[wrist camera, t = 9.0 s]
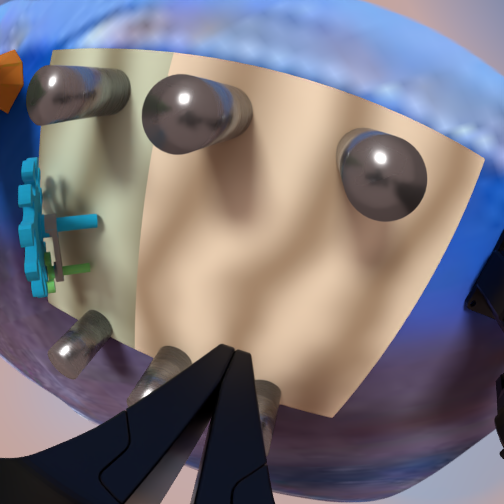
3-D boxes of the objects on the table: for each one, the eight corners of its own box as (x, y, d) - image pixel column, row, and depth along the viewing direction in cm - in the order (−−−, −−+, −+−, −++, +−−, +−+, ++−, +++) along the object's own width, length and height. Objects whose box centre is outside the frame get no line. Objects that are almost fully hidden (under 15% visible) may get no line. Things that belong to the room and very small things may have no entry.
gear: (24, 137, 17) (0, 207, 11) (94, 132, 21) (106, 195, 14) (35, 250, 24) (37, 338, 18) (92, 243, 27) (110, 327, 21)
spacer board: (481, 157, 14) (484, 158, 13) (332, 414, 25) (332, 417, 25) (56, 50, 16) (53, 50, 16) (50, 300, 27) (48, 302, 27)
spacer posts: (400, 141, 14) (439, 156, 9) (274, 406, 25) (261, 462, 20) (98, 67, 16) (31, 66, 11) (87, 328, 27) (51, 367, 21)
